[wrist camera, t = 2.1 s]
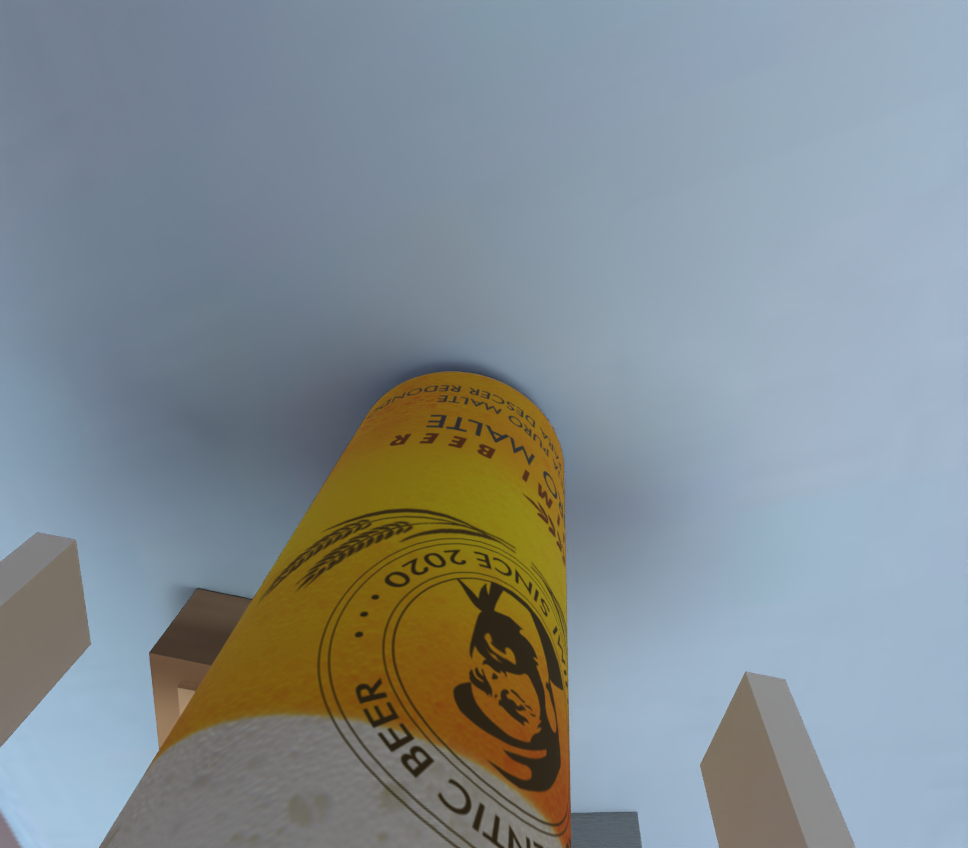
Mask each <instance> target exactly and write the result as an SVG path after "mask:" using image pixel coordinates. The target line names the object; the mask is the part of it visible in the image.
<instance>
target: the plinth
mask: <svg viewBox="0 0 968 848" xmlns="http://www.w3.org/2000/svg"><path fill="white" fill-rule="evenodd" d="M251 601H252V600H251V599H246V598H241V597H236V596H231V595H226V594H221V593H216V592H211V591H206V590H201V589H197V590H196V591H195V592H194V594H193V595H192V596H191V598H190V599H189V600H188V602H187V603H186V604H185V606H184V607H183V608H182V610H181V611H180V612H179V614H178V615H177V616H176V618H175V619H174V620H173V622H172V623H171V624H170V626H169V627H168V628H167V630H166V631H165V632H164V634H163V635H162V636H161V638H160V639H159V640H158V642H157V643H156V644H155V646H154V647H153V648H152V650H151V651H150V652H149V656H150V666H151V675H152V685H153V695H154V704H155V714H156V723H157V733H158V742H159V750H160V748H161V746H162V745H163V743H164V742H165V740H166V738H167V737H168V735H169V734H170V732H171V730H172V729H173V727H174V725H175V724H176V722H177V721H178V719H179V717H180V716H181V714H182V713H183V711H184V709H185V708H186V706H187V704H188V703H189V701H190V700H191V698H192V696H193V695H194V693H195V692H196V690H197V688H198V687H199V685H200V683H201V682H202V680H203V679H204V677H205V675H206V674H207V672H208V671H209V669H210V667H211V666H212V664H213V662H214V661H215V659H216V658H217V656H218V654H219V653H220V651H221V650H222V648H223V646H224V645H225V643H226V641H227V640H228V638H229V637H230V635H231V633H232V632H233V630H234V629H235V627H236V625H237V624H238V622H239V620H240V619H241V617H242V616H243V614H244V612H245V611H246V609H247V608H248V606H249V604H250V603H251Z"/></svg>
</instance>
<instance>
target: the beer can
mask: <svg viewBox="0 0 968 848" xmlns="http://www.w3.org/2000/svg"><path fill="white" fill-rule="evenodd" d="M99 848H571V803H570V751H569V700H568V648H567V597H566V545H565V494H564V460H563V455H562V449H561V446H560V443H559V440H558V438H557V435H556V433H555V431H554V429H553V427H552V426H551V424H550V423H549V421H548V419H547V418H546V417H545V415H544V414H543V413H542V412H541V411H540V409H539V408H538V407H537V406H536V405H535V404H534V403H533V402H531V401H530V400H529V399H528V398H527V397H525V396H524V395H523V394H521V393H520V392H519V391H517V390H515V389H514V388H512V387H510V386H509V385H506V384H504V383H502V382H500V381H498V380H495V379H492V378H489V377H486V376H483V375H479V374H474V373H468V372H459V371H445V372H436V373H430V374H425V375H421V376H418V377H415V378H412V379H409V380H407V381H405V382H403V383H401V384H399V385H397V386H396V387H394V388H393V389H391V390H390V391H388V392H387V393H386V394H385V395H383V396H382V397H381V398H380V399H379V400H378V401H377V402H376V403H375V405H374V406H373V407H372V408H371V410H370V411H369V412H368V414H367V415H366V417H365V419H364V420H363V422H362V423H361V425H360V427H359V428H358V430H357V432H356V433H355V435H354V436H353V438H352V440H351V441H350V443H349V444H348V446H347V448H346V449H345V451H344V453H343V454H342V456H341V457H340V459H339V461H338V462H337V464H336V465H335V467H334V469H333V470H332V472H331V474H330V475H329V477H328V478H327V480H326V482H325V483H324V485H323V486H322V488H321V490H320V491H319V493H318V495H317V496H316V498H315V499H314V501H313V503H312V504H311V506H310V507H309V509H308V511H307V512H306V514H305V515H304V517H303V519H302V520H301V522H300V524H299V525H298V527H297V528H296V530H295V532H294V533H293V535H292V536H291V538H290V540H289V541H288V543H287V545H286V546H285V548H284V549H283V551H282V553H281V554H280V556H279V557H278V559H277V561H276V562H275V564H274V566H273V567H272V569H271V570H270V572H269V574H268V575H267V577H266V578H265V580H264V582H263V583H262V585H261V587H260V588H259V590H258V591H257V593H256V595H255V596H254V598H253V599H252V601H251V603H250V604H249V606H248V608H247V609H246V611H245V612H244V614H243V616H242V617H241V619H240V620H239V622H238V624H237V625H236V627H235V629H234V630H233V632H232V633H231V635H230V637H229V638H228V640H227V641H226V643H225V645H224V646H223V648H222V650H221V651H220V653H219V654H218V656H217V658H216V659H215V661H214V662H213V664H212V666H211V667H210V669H209V671H208V672H207V674H206V675H205V677H204V679H203V680H202V682H201V683H200V685H199V687H198V688H197V690H196V692H195V693H194V695H193V696H192V698H191V700H190V701H189V703H188V704H187V706H186V708H185V709H184V711H183V713H182V714H181V716H180V717H179V719H178V721H177V722H176V724H175V725H174V727H173V729H172V730H171V732H170V734H169V735H168V737H167V738H166V740H165V742H164V743H163V745H162V746H161V748H160V750H159V751H158V753H157V755H156V756H155V758H154V759H153V761H152V763H151V764H150V766H149V767H148V769H147V771H146V772H145V774H144V776H143V777H142V779H141V780H140V782H139V784H138V785H137V787H136V788H135V790H134V792H133V793H132V795H131V797H130V798H129V800H128V801H127V803H126V805H125V806H124V808H123V809H122V811H121V813H120V814H119V816H118V817H117V819H116V821H115V822H114V824H113V826H112V827H111V829H110V830H109V832H108V834H107V835H106V837H105V838H104V840H103V842H102V843H101V845H100V847H99Z"/></svg>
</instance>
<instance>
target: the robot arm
mask: <svg viewBox="0 0 968 848" xmlns="http://www.w3.org/2000/svg"><path fill="white" fill-rule="evenodd" d="M90 645H91V642H90V635H89V628H88V621H87V614H86V607H85V600H84V593H83V586H82V579H81V572H80V565H79V558H78V551H77V544H76V540H74V539H69V538H64V537H59V536H54V535H49V534H44V533H39V532H37V533H36V534H34V535H33V536H32V537H31V538H29V539H28V540H27V541H26V542H24V543H23V544H22V545H21V546H20V547H18V548H17V549H16V550H15V551H13V552H12V553H11V554H10V555H8V556H7V557H6V558H5V559H3V560H2V561H1V562H0V747H1V746H2V745H3V744H4V743H5V742H6V741H7V739H8V738H9V737H10V736H11V735H12V734H13V733H14V731H15V730H16V729H17V728H18V727H19V726H20V725H21V723H22V722H23V721H24V720H25V719H26V718H27V717H28V715H29V714H30V713H31V712H32V711H33V710H34V709H35V707H36V706H37V705H38V704H39V703H40V702H41V701H42V699H43V698H44V697H45V696H46V695H47V694H48V693H49V691H50V690H51V689H52V688H53V687H54V686H55V685H56V683H57V682H58V681H59V680H60V679H61V678H62V677H63V675H64V674H65V673H66V672H67V671H68V670H69V669H70V667H71V666H72V665H73V664H74V663H75V662H76V661H77V659H78V658H79V657H80V656H81V655H82V654H83V653H84V651H85V650H86V649H87V648H88V647H89V646H90ZM700 767H701V771H702V776H703V780H704V784H705V789H706V793H707V797H708V801H709V806H710V810H711V814H712V819H713V823H714V827H715V831H716V836H717V840H718V844H719V848H856V847H855V845H854V842H853V840H852V837H851V835H850V833H849V830H848V828H847V826H846V823H845V821H844V818H843V816H842V814H841V811H840V809H839V807H838V804H837V802H836V799H835V797H834V795H833V792H832V790H831V788H830V785H829V783H828V780H827V778H826V776H825V773H824V771H823V769H822V766H821V764H820V761H819V759H818V757H817V754H816V752H815V749H814V747H813V745H812V742H811V740H810V738H809V735H808V733H807V730H806V728H805V726H804V723H803V721H802V719H801V716H800V714H799V711H798V709H797V707H796V704H795V702H794V700H793V697H792V695H791V692H790V690H789V688H788V685H787V683H786V680H785V679H780V678H775V677H770V676H765V675H760V674H755V673H750V672H745V674H744V676H743V678H742V680H741V682H740V684H739V686H738V688H737V690H736V692H735V694H734V696H733V698H732V700H731V702H730V704H729V707H728V709H727V711H726V713H725V715H724V717H723V719H722V721H721V723H720V725H719V727H718V729H717V731H716V733H715V735H714V737H713V739H712V741H711V744H710V746H709V748H708V750H707V752H706V754H705V756H704V758H703V760H702V762H701V764H700Z"/></svg>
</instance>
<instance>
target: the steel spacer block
mask: <svg viewBox="0 0 968 848" xmlns="http://www.w3.org/2000/svg"><path fill="white" fill-rule="evenodd" d="M571 848H642V843H641V836H640V828H639V821H638V814H637V812H600V813H571Z"/></svg>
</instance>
